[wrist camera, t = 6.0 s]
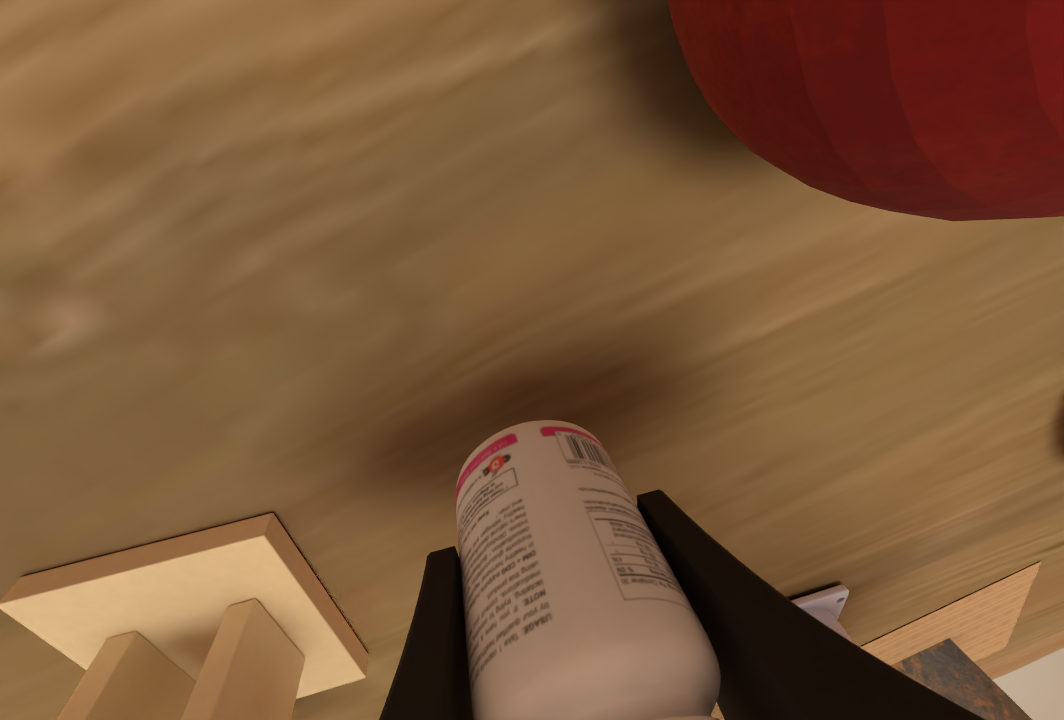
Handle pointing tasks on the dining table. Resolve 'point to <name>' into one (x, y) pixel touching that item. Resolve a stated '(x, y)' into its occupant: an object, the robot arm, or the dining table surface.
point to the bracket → (193, 627)
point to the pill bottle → (571, 589)
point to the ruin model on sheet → (967, 686)
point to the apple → (893, 97)
